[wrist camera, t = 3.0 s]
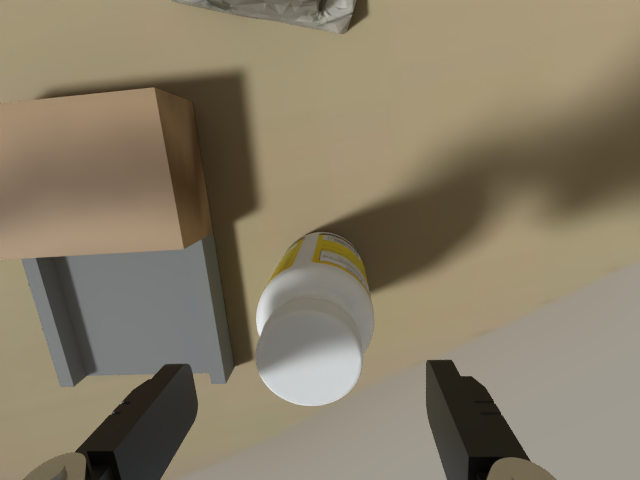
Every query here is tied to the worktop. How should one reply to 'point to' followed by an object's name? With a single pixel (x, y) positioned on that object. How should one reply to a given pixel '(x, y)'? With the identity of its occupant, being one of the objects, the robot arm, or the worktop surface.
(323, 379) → the supplement bottle
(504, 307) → the worktop surface
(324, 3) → the packaged product
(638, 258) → the worktop surface
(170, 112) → the brown box
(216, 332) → the tray
